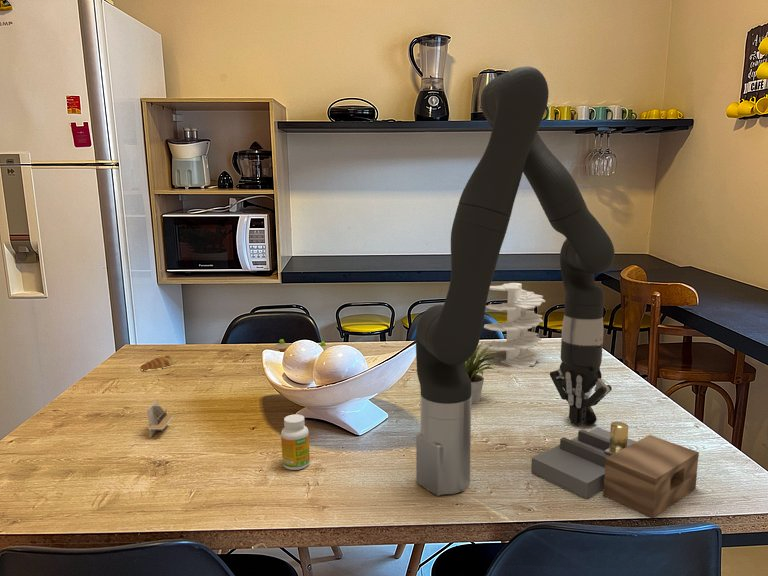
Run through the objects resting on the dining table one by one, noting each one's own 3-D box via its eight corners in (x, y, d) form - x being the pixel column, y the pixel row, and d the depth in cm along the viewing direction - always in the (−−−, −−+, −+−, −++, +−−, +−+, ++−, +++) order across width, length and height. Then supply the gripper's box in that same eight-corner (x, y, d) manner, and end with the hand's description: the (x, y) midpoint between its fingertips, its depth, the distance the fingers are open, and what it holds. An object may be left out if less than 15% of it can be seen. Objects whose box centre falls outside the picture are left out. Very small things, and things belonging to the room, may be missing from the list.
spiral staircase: (538, 355, 181) (541, 279, 177) (545, 373, 164) (548, 289, 159) (481, 353, 184) (482, 278, 180) (482, 370, 167) (483, 288, 162)
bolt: (662, 484, 96) (665, 446, 95) (603, 460, 104) (606, 425, 103) (673, 477, 98) (677, 440, 97) (615, 454, 107) (617, 419, 106)
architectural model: (174, 430, 129) (172, 399, 128) (164, 443, 122) (161, 411, 121) (159, 430, 129) (157, 399, 128) (148, 443, 122) (145, 411, 121)
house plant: (470, 418, 132) (471, 352, 129) (428, 402, 142) (428, 340, 140) (507, 403, 141) (509, 340, 139) (465, 389, 152) (466, 330, 149)
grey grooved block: (586, 499, 98) (588, 472, 97) (531, 472, 107) (532, 447, 106) (651, 461, 111) (653, 437, 110) (596, 440, 120) (598, 418, 119)
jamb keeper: (652, 518, 92) (655, 478, 91) (603, 494, 99) (605, 458, 98) (695, 488, 101) (699, 452, 100) (647, 468, 108) (649, 435, 107)
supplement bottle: (297, 473, 108) (295, 426, 106) (276, 466, 111) (274, 420, 109) (315, 461, 112) (313, 416, 111) (294, 455, 115) (292, 410, 114)
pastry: (146, 376, 164) (145, 364, 164) (137, 371, 169) (135, 359, 168) (177, 369, 171) (176, 357, 170) (167, 363, 175) (166, 352, 175)
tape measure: (587, 429, 128) (601, 420, 127) (572, 417, 125) (586, 407, 124) (574, 407, 134) (587, 398, 133) (559, 395, 131) (572, 386, 129)
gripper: (541, 334, 110) (537, 417, 113) (601, 349, 100) (595, 440, 103) (565, 328, 115) (561, 408, 118) (624, 342, 104) (618, 430, 107)
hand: (577, 423), depth 110 cm, fingers closed
